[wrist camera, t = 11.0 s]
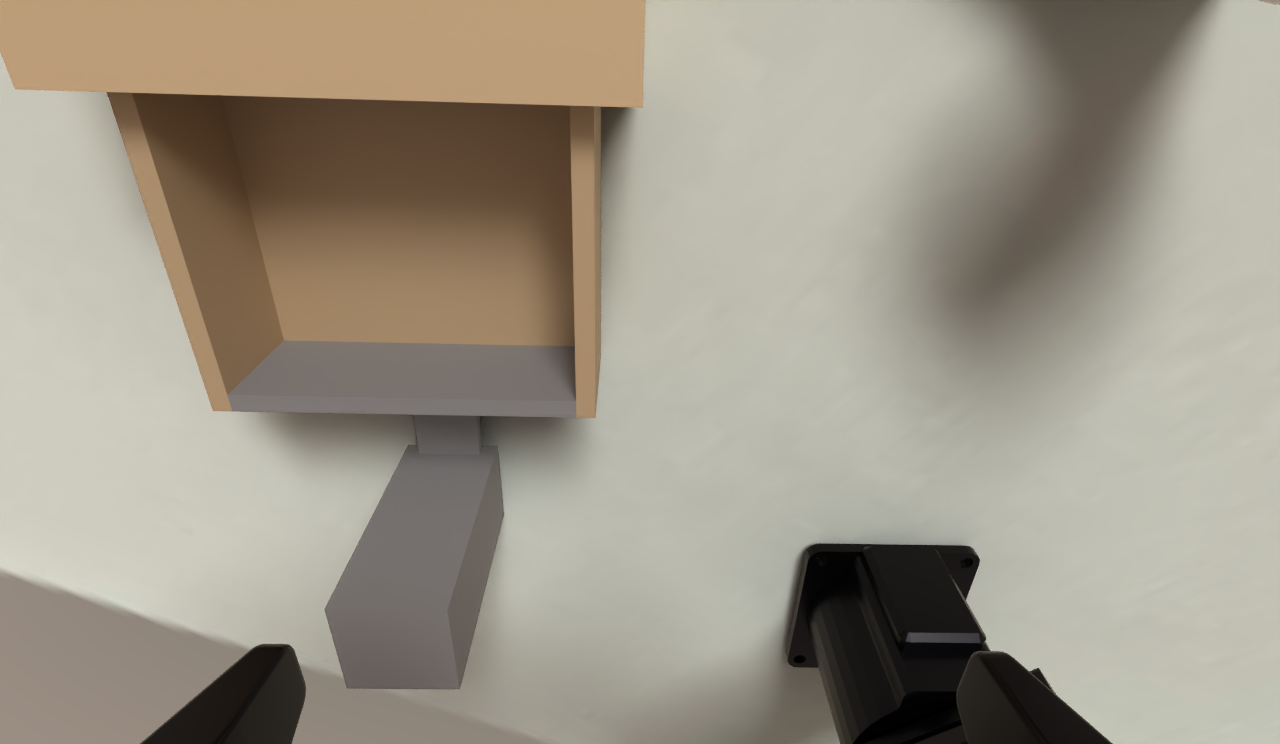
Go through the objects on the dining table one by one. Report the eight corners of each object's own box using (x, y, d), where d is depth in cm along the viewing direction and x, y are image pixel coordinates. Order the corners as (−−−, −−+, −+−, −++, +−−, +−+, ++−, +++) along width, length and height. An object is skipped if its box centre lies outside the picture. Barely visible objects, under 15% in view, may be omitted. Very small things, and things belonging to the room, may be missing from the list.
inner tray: (600, 516, 24) (590, 690, 18) (321, 511, 24) (214, 686, 18) (600, -172, 15) (578, -303, 8) (138, -190, 14) (-231, -337, 8)
